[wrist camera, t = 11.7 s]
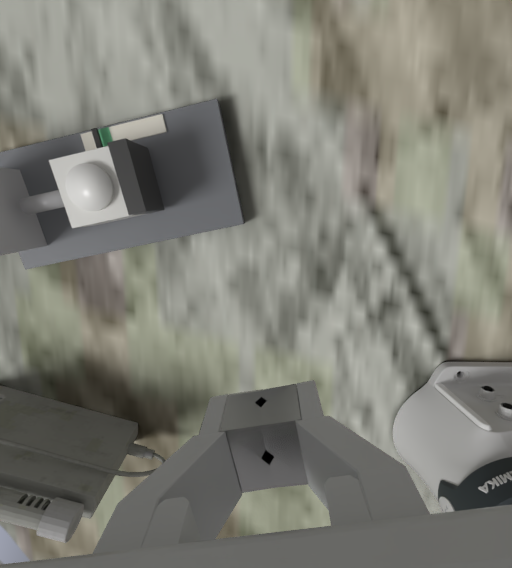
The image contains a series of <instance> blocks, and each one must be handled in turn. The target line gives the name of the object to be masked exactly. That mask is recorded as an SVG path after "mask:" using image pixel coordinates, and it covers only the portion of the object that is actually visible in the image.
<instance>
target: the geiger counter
mask: <svg viewBox="0 0 512 568" xmlns="http://www.w3.org/2000/svg"><path fill="white" fill-rule="evenodd" d="M137 435H138V423H136V422H133V421H129V420H125V419H122V418H118V417H114V416H111V415H107V414H104V413H100V412H96V411H93V410H89V409H85V408H82V407H78V406H74V405H71V404H67V403H64V402H60V401H56V400H53V399H49V398H45V397H42V396H38V395H34V394H31V393H27V392H24V391H20V390H16V389H13V388H9V387H5V386H2V385H0V521H3V522H7V523H11V524H15V525H19V526H23V527H26V528H30V529H34V530H37V535H38V536H42V537H45V538H49V539H53V540H57V541H61V542H64V543H66V542H68V541H69V540H70V538H71V537H72V535H73V534H74V532H75V530H76V528H77V526H78V524H79V522H80V519H81V517H85V518H89V519H90V518H91V517H92V515H93V514H94V512H95V510H96V508H97V507H98V505H99V503H100V501H101V499H102V498H103V496H104V494H105V492H106V491H107V489H108V487H109V485H110V483H111V482H112V480H113V478H114V476H115V475H119V476H127V477H141V476H147V475H150V474H152V473H153V472H154V471H155V470H156V469H157V468H156V469H154V470H150V471H145V472H125V471H118V469H119V468H120V466H121V464H122V462H123V460H124V459H125V457H126V455H127V454H129V455H133V456H136V457H140V458H143V457H145V458H148V459H152V458H153V457H155V458H157V459H159V460H160V461H161V462H162V464H163V463H164V462H165V459H164V458H163V457H161V456H160V455H158V454H156V453H154V452H155V450H151V449H148V448H147V447H145V446H141V445H138V444H134V441H135V439H136V437H137Z"/></svg>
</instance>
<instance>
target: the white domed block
mask: <svg viewBox="0 0 512 568" xmlns="http://www.w3.org/2000/svg"><path fill="white" fill-rule="evenodd" d="M91 131H92V134H93V138H94V141H95V144H96V147H97V149H93V150H89V151H85V152H81V153H77V154H72V155H68V156H64V157H60V158H56V159H52V160H49V163H50V166H51V169H52V171H53V174H54V177H55V180H56V183H57V186H58V189H59V190H56V191H51V192H47V193H43V194H38V195H34V196H30V197H25V198H21V199H20V201H19V205H20V208H21V209H22V211H23V212H24V213H26V214H28V215H31V214H35V213H39V212H44V211H48V210H53V209H57V208H62V207H65V209H66V212H67V215H68V218H69V221H70V224H71V227H72V228H78V227H86V226H93V225H99V224H103V223H108V222H112V221H117V220H122V219H126V218H131V217H135V216H140V215H145V214H149V213H154V212H158V211H163V210H165V209H164V205H163V202H162V198H161V194H160V191H159V187H158V183H157V179H156V176H155V172H154V168H153V165H152V161H151V157H150V153H149V150H148V148H147V147H144V146H142V145H140V144H137V143H135V142H133V141H131V140H128V139H126V138H124V139H120V140H116V141H112V142H108V143H107V144H108V146H106V147H103V144H102V141H101V137H100V134H99V131H98V129H97V128H95V129H91Z"/></svg>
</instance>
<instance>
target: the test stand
mask: <svg viewBox="0 0 512 568" xmlns="http://www.w3.org/2000/svg"><path fill="white" fill-rule="evenodd" d="M97 129H98V131H99V134H100V137H101V141H102V144H103V147H106V146H108V144H107V143H108V142H112V141H116V140H120V139H124V138H126V139H128V140H131V141H133V142H135V143H137V144H140V145H142V146H144V147H147V148H148V150H149V153H150V157H151V161H152V165H153V168H154V172H155V176H156V179H157V183H158V187H159V191H160V194H161V198H162V202H163V205H164V209H165V210H163V211H158V212H154V213H149V214H145V215H140V216H135V217H131V218H126V219H122V220H117V221H112V222H108V223H103V224H99V225H93V226H86V227H78V228H72V227H71V224H70V221H69V218H68V215H67V212H66V209H65V207H62V208H57V209H53V210H48V211H44V212H39V213H35V214H31V215H28V214H26V213H24V212H23V211H22V209H21V208H20V205H19V201H20V199H21V198H25V197H30V196H34V195H38V194H43V193H47V192H51V191H56V190H59V189H58V186H57V183H56V180H55V177H54V174H53V171H52V169H51V166H50V163H49V160H52V159H56V158H60V157H64V156H68V155H72V154H77V153H81V152H85V151H89V150H93V149H97V147H96V144H95V141H94V138H93V134H92V131H91V130H89V131H84V132H80V133H76V134H72V135H68V136H64V137H60V138H56V139H52V140H48V141H44V142H40V143H36V144H32V145H28V146H24V147H20V148H16V149H12V150H8V151H4V152H0V255H5V254H10V253H15V252H19V255H20V257H21V260H22V262H23V265H24V267H25V269H29V268H34V267H39V266H44V265H49V264H53V263H58V262H63V261H68V260H73V259H77V258H82V257H87V256H92V255H97V254H101V253H106V252H111V251H116V250H121V249H125V248H130V247H135V246H140V245H145V244H149V243H154V242H159V241H164V240H169V239H173V238H178V237H183V236H188V235H193V234H197V233H202V232H207V231H212V230H217V229H221V228H226V227H231V226H236V225H241V224H244V223H245V222H244V218H243V213H242V208H241V203H240V199H239V194H238V189H237V185H236V180H235V175H234V170H233V166H232V161H231V156H230V152H229V147H228V142H227V137H226V133H225V128H224V123H223V119H222V114H221V109H220V104H219V102H218V100H217V99H214V100H210V101H206V102H202V103H198V104H194V105H190V106H186V107H182V108H177V109H173V110H169V111H165V112H161V113H157V114H153V115H149V116H145V117H141V118H137V119H133V120H129V121H125V122H121V123H117V124H113V125H109V126H105V127H101V128H97Z"/></svg>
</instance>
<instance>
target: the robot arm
mask: <svg viewBox="0 0 512 568" xmlns="http://www.w3.org/2000/svg"><path fill="white" fill-rule="evenodd" d="M459 371H461V372H460V373H459V374H457V373H458V372H459ZM393 441H394V445H395V448H396V450H397V452H398V454H399V455H400V457H401V458H402V459H403V460H404V461H405V462H406V463H407V464H408V465H409V466H410V467H411V468H412V469H413V470H414V471H415V472H416V473H417V474H418V476H419V477H420V478H421V479H422V481H423V482H424V483H425V484H426V486H427V487H428V488H429V490H430V491H431V493H432V494H433V495H434V497H435V498H436V499H437V501H438V502H439V506H440V509H441V512H442V513H436V514H430V513H429V511H428V509H427V507H426V505H425V503H424V501H423V500H422V498H421V496H420V494H419V492H418V490H417V488H416V486H415V484H414V482H413V480H412V478H411V476H410V474H409V472H408V470H407V468H406V466H404V465H403V464H401V463H400V462H398V461H397V460H395V459H394V458H392V457H391V456H389V455H388V454H386V453H385V452H383V451H382V450H380V449H379V448H377V447H376V446H374V445H373V444H371V443H369V442H368V441H366V440H365V439H363V438H362V437H360V436H359V435H357V434H356V433H354V432H353V431H351V430H350V429H348V428H347V427H345V426H344V425H342V424H341V423H339V422H338V421H336V420H335V419H333V418H332V417H330V416H324V415H323V411H322V407H321V403H320V399H319V395H318V391H317V387H316V383H315V381H314V380H312V381H307V382H302V383H297V385H296V384H292V385H286V386H281V387H276V388H270V389H265V390H263V389H262V390H255V391H248V392H240V393H233V394H229V395H228V394H225V395H219V396H214V397H211V398H210V400H209V403H208V406H207V409H206V413H205V416H204V419H203V422H202V426H201V429H200V432H199V435H197V436H193V437H192V438H191V439H190V440H188V441H187V442H186V443H185V444H184V445H183V446H182V447H181V448H180V449H178V450H177V451H176V452H175V453H174V454H173V455H172V456H171V457H169V458H168V459H167V460H166V461H165V462H164V463H163V464H162V465H160V466H159V467H158V468H157V469H156V470H155V471H154V472H153V473H152V474H150V475H149V476H148V477H147V478H146V479H145V480H144V481H143V482H141V483H140V484H139V485H138V486H137V487H136V488H135V489H134V490H133V491H131V492H130V493H129V494H128V495H127V496H126V497H125V498H124V499H122V500H121V501H120V502H119V503H118V504H117V506H116V508H115V510H114V512H113V514H112V516H111V518H110V520H109V522H108V524H107V526H106V528H105V530H104V532H103V534H102V536H101V538H100V540H99V542H98V544H97V546H96V548H95V550H94V552H93V554H88V555H79V556H71V557H62V558H54V559H46V560H37V561H29V562H20V563H12V564H2V565H0V568H512V362H444V363H442V364H440V365H439V366H438V367H437V368H436V370H435V371H434V372H433V374H432V376H431V377H430V379H429V381H428V382H427V383H426V384H425V385H424V386H423V387H422V388H421V389H419V390H418V391H417V392H415V393H414V394H413V395H412V396H410V397H409V398H408V399H407V401H406V402H405V403H404V404H403V405H402V407H401V408H400V410H399V412H398V414H397V416H396V418H395V422H394V426H393ZM305 484H308V485H309V487H310V488H311V489H312V491H313V492H314V493H315V494H316V495H317V497H318V498H319V499H320V500H321V502H322V503H323V504H324V505H325V506H326V508H327V509H328V510H329V515H330V521H331V526H326V527H317V528H309V529H300V530H291V531H283V532H274V533H266V534H257V535H248V536H240V537H231V538H223V539H215V538H216V537H217V535H218V533H219V532H220V530H221V529H222V527H223V525H224V524H225V522H226V520H227V519H228V517H229V515H230V514H231V512H232V511H233V509H234V507H235V506H236V504H237V502H238V501H239V499H240V497H241V496H242V493H244V492H250V491H256V490H262V489H269V488H275V487H285V486H295V485H305Z"/></svg>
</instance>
